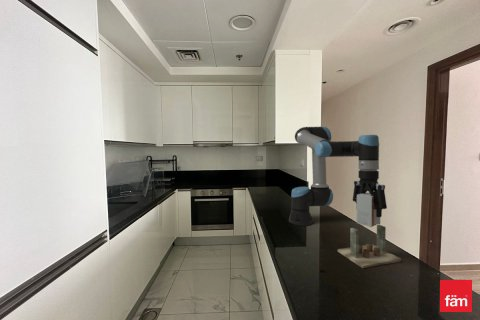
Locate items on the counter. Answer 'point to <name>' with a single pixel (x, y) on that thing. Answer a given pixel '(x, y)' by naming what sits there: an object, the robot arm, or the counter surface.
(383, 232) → the peg stand
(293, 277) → the counter surface
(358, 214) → the small box
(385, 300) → the counter surface
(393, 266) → the counter surface
